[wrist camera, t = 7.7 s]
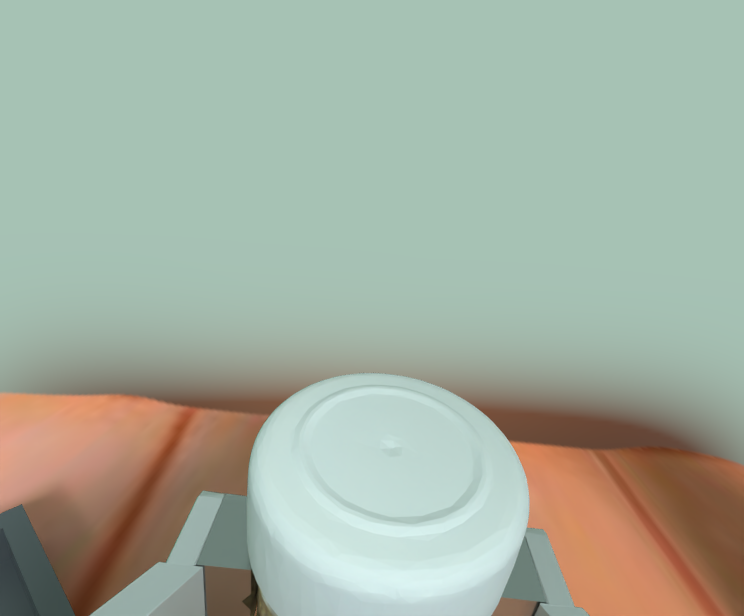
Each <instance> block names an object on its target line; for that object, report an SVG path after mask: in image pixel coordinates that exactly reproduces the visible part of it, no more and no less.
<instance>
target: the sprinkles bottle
mask: <svg viewBox="0 0 744 616" xmlns="http://www.w3.org/2000/svg"><path fill="white" fill-rule="evenodd" d="M528 518H529V491H528V485H527V480H526V475H525V473H524V470H523V467H522V465H521V462H520V460H519V458H518V456H517V454H516V452H515V450H514V448H513V447H512V445H511V444H510V442H509V441H508V440H507V438H506V437H505V435H504V434H503V433H502V432H501V431H500V430H499V428H498V427H497V426H496V425H495V424H494V423H493V422H492V421H491V420H490V419H489V418H488V417H487V416H486V415H485V414H483V413H482V412H481V411H479V410H478V409H477V408H476V407H474V406H473V405H471V404H470V403H468V402H467V401H465V400H464V399H462V398H460V397H459V396H457V395H455V394H453V393H452V392H450V391H447V390H445V389H443V388H441V387H438V386H436V385H433V384H430V383H428V382H425V381H422V380H418V379H413V378H409V377H405V376H398V375H391V374H381V373H359V374H349V375H343V376H337V377H333V378H330V379H326V380H323V381H319V382H317V383H315V384H312V385H309V386H308V387H306V388H304V389H302V390H300V391H299V392H297V393H295V394H293V395H292V396H291V397H289V398H288V399H287V400H285V401H284V402H283V403H282V404H280V405H279V406H278V407H277V408H276V409H275V410H274V411H273V412H272V414H271V415H270V416H269V417H268V419H267V420H266V421H265V423H264V424H263V426H262V427H261V429H260V431H259V433H258V435H257V437H256V439H255V442H254V445H253V448H252V452H251V456H250V462H249V469H248V487H247V544H248V553H249V559H250V564H251V568H252V571H253V573H254V576H255V579H256V582H257V584H258V592H257V616H491V615H492V614H493V612H494V610H495V609H496V607H497V605H498V603H499V601H500V598H501V596H502V594H503V591H504V589H505V586H506V584H507V582H508V579H509V577H510V574H511V572H512V570H513V567H514V565H515V562H516V559H517V556H518V553H519V550H520V547H521V545H522V542H523V539H524V536H525V532H526V528H527V524H528Z"/></svg>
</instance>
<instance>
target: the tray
mask: <svg viewBox="0 0 744 616" xmlns="http://www.w3.org/2000/svg"><path fill="white" fill-rule="evenodd" d="M0 616H75V614H74V612H73V610H72V608H71V606H70V603H69V601H68V599H67V597H66V595H65V593H64V591H63V589H62V587H61V585H60V583H59V581H58V579H57V577H56V574H55V572H54V570H53V568H52V566H51V564H50V562H49V560H48V558H47V556H46V554H45V552H44V550H43V548H42V545H41V543H40V541H39V539H38V537H37V535H36V533H35V531H34V529H33V527H32V525H31V523H30V521H29V519H28V516H27V514H26V512H25V510H24V508H23V506H22V504H21V505H19V506H17V507H14V508H12V509H10V510H8V511H5V512H3V513H1V514H0Z"/></svg>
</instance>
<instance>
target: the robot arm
mask: <svg viewBox="0 0 744 616" xmlns="http://www.w3.org/2000/svg"><path fill="white" fill-rule="evenodd" d="M257 592H258V584H257V582H256V579H255V576H254V573H253V571H252V568H251V564H250V559H249V553H248V544H247V496H241V495H234V494H225V493H218V492H210V491H202V492H201V494H200V495H199V496H198V497H197V499H196V501H195V503H194V505H193V507H192V509H191V512H190V514H189V516H188V518H187V520H186V522H185V524H184V526H183V528H182V530H181V532H180V534H179V536H178V538H177V540H176V543H175V545H174V547H173V549H172V551H171V553H170V555H169V557H168V559H167V561H166V562H158V563H156V564H155V565H154V566H152V567H151V568H150V569H149V570H147V571H146V572H145V573H143V574H142V575H141V576H140V577H138V578H137V579H136V580H134V581H133V582H132V583H131V584H129V585H128V586H127V587H125V588H124V589H123V590H122V591H120V592H119V593H118V594H116V595H115V596H114V597H113V598H111V599H110V600H109V601H107V602H106V603H105V604H104V605H102V606H101V607H100V608H98V609H97V610H96V611H95V612H93V613H92V614H91V615H89V616H254V614H255V610H256V606H257ZM491 616H590V615H589V614H588V613H587V612H586V611H585V610H584V609H583V608H580V607H575V606H574V603H573V600H572V598H571V595H570V593H569V590H568V588H567V585H566V582H565V580H564V577H563V575H562V572H561V570H560V567H559V564H558V562H557V559H556V557H555V554H554V551H553V549H552V546H551V544H550V541H549V539H548V536H547V534H546V533H545V531H544V530H543V529H535V528H526V532H525V536H524V539H523V542H522V545H521V547H520V550H519V553H518V556H517V559H516V562H515V565H514V567H513V570H512V572H511V574H510V577H509V579H508V582H507V584H506V586H505V589H504V591H503V594H502V596H501V598H500V601H499V603H498V605H497V607H496V609H495V610H494V612H493V614H492V615H491Z"/></svg>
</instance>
